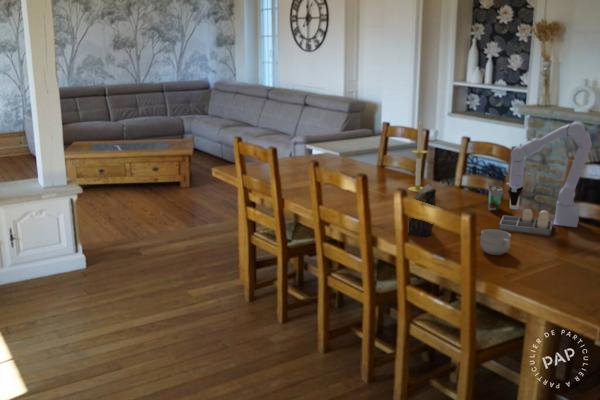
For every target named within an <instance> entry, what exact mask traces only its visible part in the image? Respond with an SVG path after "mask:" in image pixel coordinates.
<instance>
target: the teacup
mask: <svg viewBox="0 0 600 400" xmlns="http://www.w3.org/2000/svg"><path fill="white" fill-rule="evenodd" d="M480 233H481V236H480V248H481V249H482V250H483V251H484V252H485V253H486V254H488V255H493V256H502V255H504V254H505V253H506V252H508V250H509V249H510V247H511V237H512V234H511V233H510V232H509V231H503V230H499V229H492V228H491V229H489V228H488V229H483V230H481V232H480Z"/></svg>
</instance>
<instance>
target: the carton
mask: <svg viewBox="0 0 600 400" xmlns="http://www.w3.org/2000/svg"><path fill="white" fill-rule="evenodd" d="M537 222H538V218H533V217H532V223H528V222H522V216H512V215H502V217H501V219H500V221H499V225H498V230H501V231H505V232H514V233H523V234H530V235H539V236H548V237H551V234H552V229H553V223H554V220H550V219H549V221H548V226H547V229H540V228H537Z"/></svg>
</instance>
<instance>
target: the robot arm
mask: <svg viewBox="0 0 600 400" xmlns="http://www.w3.org/2000/svg"><path fill="white" fill-rule="evenodd" d="M568 137H569V138H571V139H572V140H573V141H574V142H575V143H576V145H577V146H578V147H577V151H576V153H575V156H574V159H573V162H572V164H571V167H570V170H569V173H568V174H567V175H568V176H567V177H566V181H565V183H564V185H563V187H561V189H560V190H559V193H558V196H557V201H556V207H555V216H554V217H555V218H554V219H553V223H552V226H553V225H554V226H561V227H569V228H570V227H571V228H578V223H579V222H580V218H579V214H580V205H579V204H575V201H574V200H575V197H576V187H577V185H578V182H579V179H580V177H581V175H582V171H583V169H584V166H585V164H586V161H587V158H588V156H589V154H590V151H591V148H592V140H591V135H590V133H589V129H588V127H587V126H586V125H585V123H584V122H582V121H580V120H575V121H573V122H571V123H568V124H566V125H563V126H561V127H558V128H557V129H555V130H553V131H551V132H549V133H548V134H546V135H544V136H542V137H541V138H538V137H534V138H533V137H531V138H529V140H528V141H526V142H524V143H520V144H519V145H518V146H515V147H514V148H513V149H512V150H511V152H510V158H511V161H510V168H509V180H508V181H509V182H506V186H509V187H508V190H507V193H508V194H509V201H510V200H511V205H514V206H516V205H517V201H518V198H519V196H520V195H521V193H522V192H523V189H524V176H525V174H524V173H525V158H526V157H529V156H531V155H533V154H535V153H538V152H539V151H541V150H542V149H543V147H544V145H547V144H549V143H551V142H553V141H556V140H557V139H559V138H565V139H567V138H568Z"/></svg>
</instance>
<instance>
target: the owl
mask: <svg viewBox="0 0 600 400" xmlns="http://www.w3.org/2000/svg"><path fill="white" fill-rule="evenodd" d="M422 187H423V186H422ZM436 193H437V189H436V188H435V187H433V186H432V184H431V183H428V184H426V185H425V186H424V187H423V188H422V189H421V190H420V191H419V192H416V195H415V196H414V199H416V200H419V201H422V202H425V203H428V204H431V205H434V206H435V207H436V201H435V200H436ZM414 199H413V200H414ZM408 221H409V233H408V234H409V235H411V236H415V237H419V238H421V239H422V238H423V239H427V238H430V237H432V236H433V235H432V234H433V233H432V232H433V227H434V223H433V224H430V223H428V222H425V221H422V220H418V219H414V218H411V217H409V219H408Z"/></svg>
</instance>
